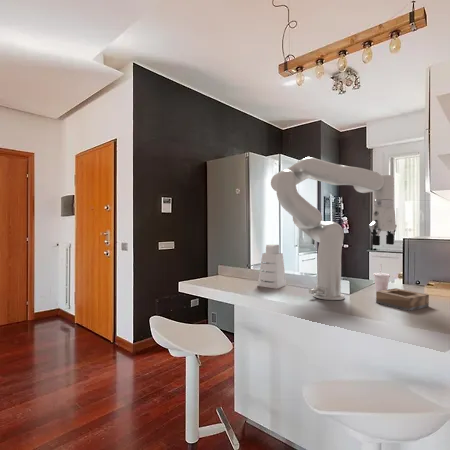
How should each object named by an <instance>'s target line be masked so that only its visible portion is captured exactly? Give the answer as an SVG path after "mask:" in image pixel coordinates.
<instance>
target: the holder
mask: <svg viewBox="0 0 450 450" xmlns="http://www.w3.org/2000/svg"><path fill="white" fill-rule="evenodd" d="M375 296H376V297H375V298H376V299H375V303H376V304H379V303H380V305H383V304H384V306H387V305H388V306H387V307H391V306H392V308H395V307H396V308H395V309H399V308H400V310H403V309H404V311H407V310H408V311H407V312H410V310H411V311H414V310H415V309H416V310H419V309H425V308H428V307H430V306H429V305H430V303H429V302H430V295H429V294H427V293H422V292H417V291H411V290H406V289H400V288H390V289H388V288H387V290H382V291H376V290H375ZM416 310H415V311H416Z"/></svg>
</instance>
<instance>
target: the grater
mask: <svg viewBox="0 0 450 450" xmlns="http://www.w3.org/2000/svg"><path fill="white" fill-rule="evenodd" d="M258 273H259V275H258V280H257V287H263V288H270V289H280V288H283V287H286V286H287V281H286V272H285V263H284V255H283V253H281V252H280V245H279V244H266V245H265V252H264V253H262V254H261V259H260V266H259V272H258Z"/></svg>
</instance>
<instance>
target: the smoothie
mask: <svg viewBox="0 0 450 450" xmlns="http://www.w3.org/2000/svg"><path fill="white" fill-rule="evenodd" d="M373 277H374V286H375V292H376V291H382V290H388V286H389V280H390V278H391V275H390V274H389V273H385V272H382V263H380V264H379V272H374V273H373Z"/></svg>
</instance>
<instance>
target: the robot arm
mask: <svg viewBox="0 0 450 450" xmlns="http://www.w3.org/2000/svg"><path fill="white" fill-rule="evenodd" d="M307 179H309V180H314V181H319V182H322V183H325V184H327V185H328V184H329V185H331V186H332V185H333V186H353V189H354V190H355V191H356V192H358V193H362V194H366V193H367V194H368V193H373V210H372V220H371V223H370V224H369V225H368V228H369V229H370V230H369V232H370V235H371V244H372V246H380V245H381V241H380V240H381V236H380V234H381V233H382V232H385V233H386V236H385V237H386V238H385V240H386V241H385V244H386V245H395V234H396V229H397V224H396V212H395V208H394V204H395V203H394V202H395V201H394V200H395V199H394V195H395V191H394V190H395V185H394V183H395V181H394V180H395V178H394V176H393V175H392V174H381V173H379V172H377V171H374V170H371V169H367V168H363V167H357V166H348V165H343V164H338V163H334V162H329V161H327V160H322V159H318V158H315V157H310V156H307V157H305V158H302V159H300V160H298V161H296V162H295V163H294V164H291V166H289V167H287V168H285V169H283V170H280V171H279V172H277V173H275V174H274V175H273V176H272V178H271V180H270V186H271V188H272V189H273V191H275V192H276V197H277V200H278V203H279V205H280V206H281V207H282V209H284V210H285V211H286V212H287V213H288V214H289V215H291V216H292V221H293V223H294V224H295V226H296V227H297V228H298V229H299V230H300V231H302V232H303V233H304V234H306V235H307V236H308V237H309V238H311V239H312V240H314V241H315V242H316V243H318V248H317V258H316V259H317V262H316V263H317V264H316V265H317V267H316V269H317V270H316V272H317V273H316V274H317V275H316V285H315V288H310V289H309V290H308V293H309V294H310V295H312V296H313V297H314V298H317V299H319V300H326V301H342V300H344V299H345V294H344V293H341V292H342V291H341V289H342V286H341V285H342V283H341V282H342V252H343V251H342V250H343V248H342V247H343V244H344V239H345V233H344V229H343V227H342V226H341V225H340V224H339V223H338V222H335V221H325V220H323V216H322V213H321V211H320V210H319V209H318V208H316V207H315V206H314V205H312V204H311V203H310V202H308V200H306V199H305V198H304V197H303V196H302V195H301V194H300V193H299V192H298V190H297V185H299V184H300V183H302V182H304V181H305V180H307Z"/></svg>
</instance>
